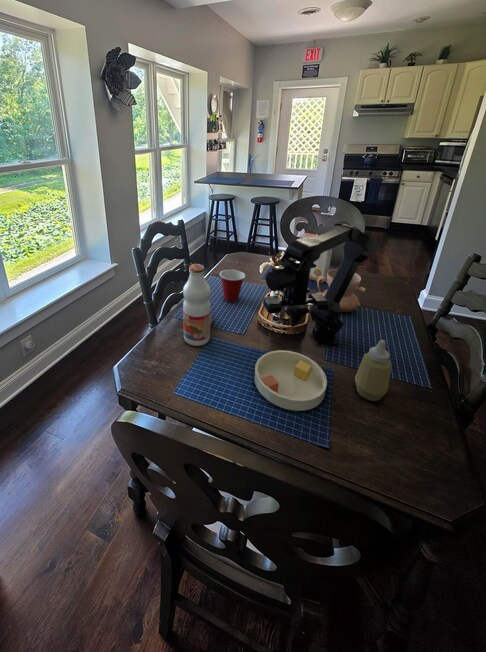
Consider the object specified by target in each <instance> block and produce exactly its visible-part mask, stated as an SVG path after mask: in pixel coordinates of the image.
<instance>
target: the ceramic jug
mask: <svg viewBox="0 0 486 652" xmlns="http://www.w3.org/2000/svg"><path fill="white" fill-rule="evenodd" d="M337 270H338V268H331V269H329V271H328V272H327V277H326V276H321V277H319V278H318V281H316V284H317V289H318V292H319V293H321V294H322V295H323V296H325V294H326V292H327V290H328V288H327V289H324V290H323V288H322V283H321V280H324V281H325V283H327V285H328V287H329V286H330V284H331V282H332V280H333V278H334V276H335V274H336V272H337ZM361 281H362V277H361V275H359V274H358V273H356V272H355V274H354V276H353V278H352V280H351V282H350V284H349V285H348V287H347V289H346V291H345V293H344V295H343V297H342V299H341V301H340V312H341V313H350V312H353V311H355V310H357V309H358V308H360V307H361V302H360V299H359V298H358V296H357V295H355V293H354V292H357V291H359V292H360V291H361V292H362V293H364V292H365V291H366V288H365V287H363V286H359V285H360V284H361Z"/></svg>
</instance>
